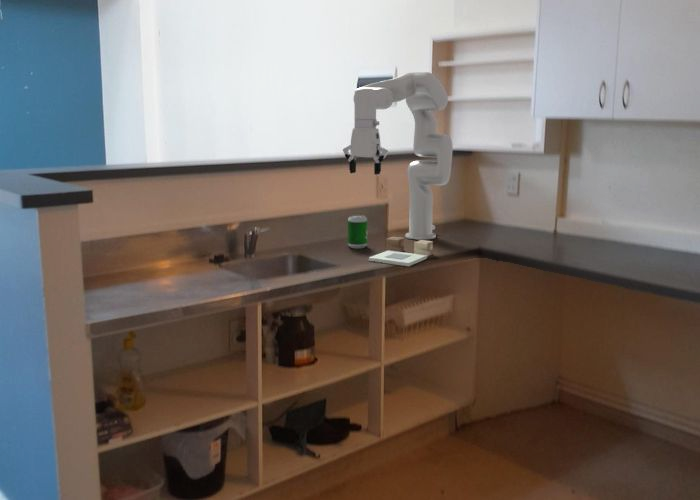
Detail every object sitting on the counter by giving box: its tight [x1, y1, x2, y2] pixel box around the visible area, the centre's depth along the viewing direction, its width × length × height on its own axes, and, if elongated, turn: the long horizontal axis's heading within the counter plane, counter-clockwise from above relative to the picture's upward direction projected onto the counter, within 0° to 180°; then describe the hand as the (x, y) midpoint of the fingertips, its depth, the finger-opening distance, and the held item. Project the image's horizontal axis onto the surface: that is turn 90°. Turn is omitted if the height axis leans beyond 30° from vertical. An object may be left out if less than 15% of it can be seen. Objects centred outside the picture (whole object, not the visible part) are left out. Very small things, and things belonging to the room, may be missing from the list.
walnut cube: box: [385, 236, 405, 252], centre depth 268 cm, size 5×5×5 cm
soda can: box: [347, 214, 368, 249], centre depth 275 cm, size 8×8×12 cm
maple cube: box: [413, 240, 434, 258], centre depth 261 cm, size 5×5×5 cm
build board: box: [368, 250, 428, 267], centre depth 254 cm, size 14×16×1 cm
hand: (364, 173), depth 251 cm, fingers open, 9 cm apart
